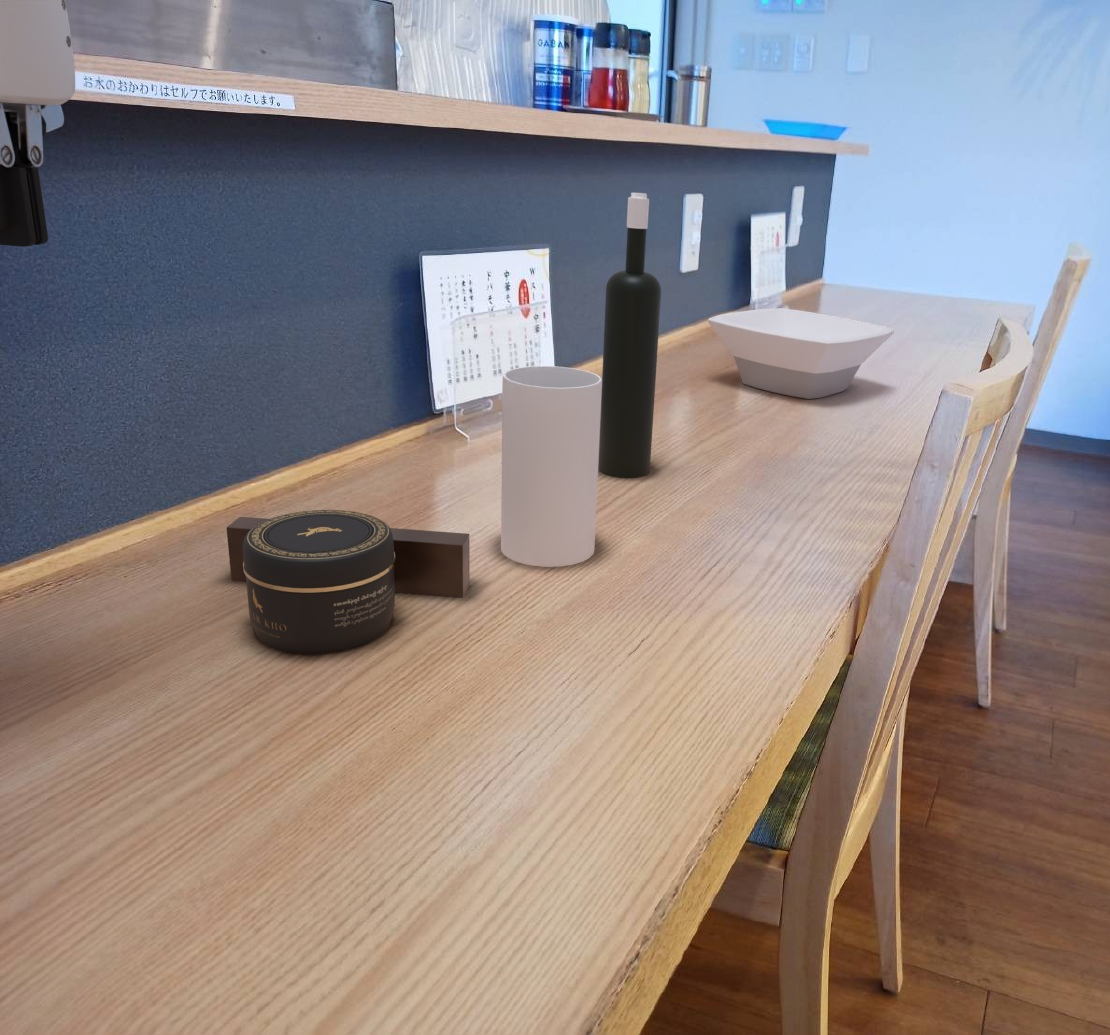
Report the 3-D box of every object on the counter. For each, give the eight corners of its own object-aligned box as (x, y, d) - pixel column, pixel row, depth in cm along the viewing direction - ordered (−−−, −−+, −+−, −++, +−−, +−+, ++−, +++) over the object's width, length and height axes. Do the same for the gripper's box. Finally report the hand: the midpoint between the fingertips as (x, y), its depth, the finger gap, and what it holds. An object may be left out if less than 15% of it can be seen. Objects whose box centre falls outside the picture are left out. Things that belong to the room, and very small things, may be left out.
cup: (612, 552, 89) (621, 378, 83) (554, 580, 82) (559, 393, 76) (542, 529, 93) (546, 361, 87) (481, 554, 86) (481, 374, 80)
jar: (220, 631, 70) (210, 531, 67) (340, 588, 78) (335, 497, 75) (306, 679, 65) (299, 573, 62) (426, 629, 72) (424, 532, 70)
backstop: (231, 586, 76) (225, 527, 75) (245, 574, 79) (239, 516, 77) (463, 604, 77) (462, 544, 75) (469, 591, 79) (469, 533, 77)
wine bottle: (659, 475, 110) (678, 196, 100) (625, 486, 106) (641, 195, 96) (622, 463, 114) (637, 191, 103) (587, 473, 109) (598, 190, 99)
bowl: (689, 382, 156) (694, 317, 152) (774, 363, 175) (780, 305, 172) (821, 414, 143) (830, 344, 139) (897, 390, 162) (907, 328, 158)
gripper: (-24, -121, 54) (28, 227, 60) (-281, -217, 40) (-176, 251, 46) (114, -109, 54) (152, 237, 60) (-92, -200, 40) (-14, 264, 46)
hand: (10, 242), depth 53 cm, fingers closed
